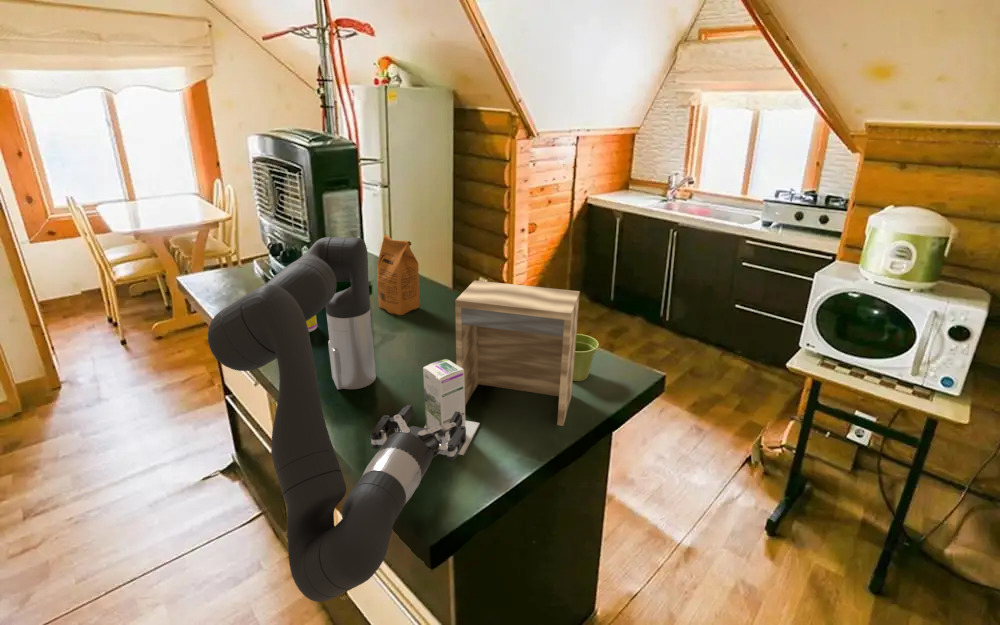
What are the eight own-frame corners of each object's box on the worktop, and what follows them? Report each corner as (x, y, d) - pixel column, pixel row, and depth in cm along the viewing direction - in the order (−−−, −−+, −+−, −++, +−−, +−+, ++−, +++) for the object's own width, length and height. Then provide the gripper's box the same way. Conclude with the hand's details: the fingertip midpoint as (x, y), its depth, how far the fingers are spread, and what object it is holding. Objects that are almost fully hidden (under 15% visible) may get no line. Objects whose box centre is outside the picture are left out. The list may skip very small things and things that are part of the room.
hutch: (563, 426, 107) (571, 313, 98) (457, 408, 113) (455, 300, 103) (571, 395, 118) (579, 291, 109) (474, 380, 123) (474, 280, 114)
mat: (463, 455, 98) (463, 452, 98) (412, 445, 101) (412, 443, 100) (479, 424, 107) (479, 422, 107) (432, 417, 110) (432, 414, 109)
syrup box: (466, 434, 103) (466, 368, 98) (441, 446, 100) (439, 378, 94) (449, 421, 107) (448, 356, 102) (424, 432, 104) (421, 366, 98)
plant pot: (603, 381, 124) (606, 347, 121) (566, 388, 121) (569, 354, 118) (583, 363, 132) (586, 331, 129) (548, 369, 129) (550, 336, 126)
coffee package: (399, 298, 171) (395, 231, 162) (424, 309, 163) (421, 238, 155) (373, 307, 164) (367, 236, 156) (398, 318, 156) (393, 245, 148)
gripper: (442, 457, 74) (474, 398, 89) (347, 442, 77) (393, 388, 92) (443, 500, 77) (474, 437, 91) (352, 485, 80) (396, 425, 94)
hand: (434, 412), depth 91 cm, fingers open, 8 cm apart
